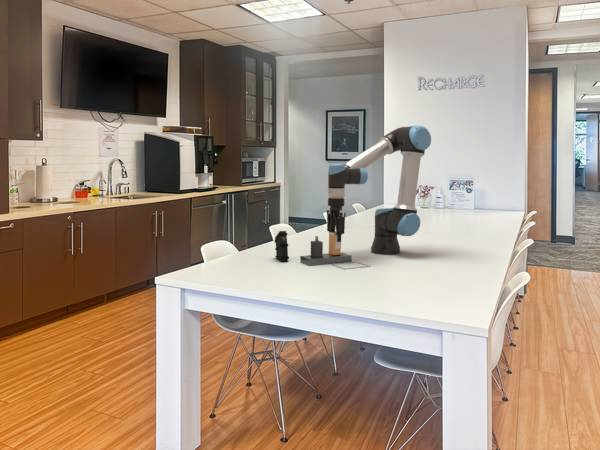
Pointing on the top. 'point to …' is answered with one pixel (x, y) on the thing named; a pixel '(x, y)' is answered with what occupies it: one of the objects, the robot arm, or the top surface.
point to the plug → (333, 244)
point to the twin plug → (316, 248)
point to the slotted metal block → (326, 259)
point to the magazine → (281, 246)
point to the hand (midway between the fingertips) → (335, 247)
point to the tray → (350, 268)
